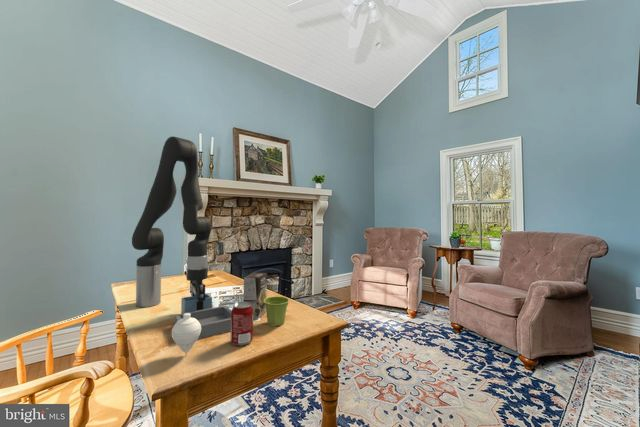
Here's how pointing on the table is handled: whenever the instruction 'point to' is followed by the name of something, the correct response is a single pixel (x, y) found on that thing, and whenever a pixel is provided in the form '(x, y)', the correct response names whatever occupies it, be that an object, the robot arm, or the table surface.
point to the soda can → (241, 323)
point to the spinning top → (186, 332)
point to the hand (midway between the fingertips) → (197, 307)
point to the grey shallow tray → (211, 320)
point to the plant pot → (276, 310)
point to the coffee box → (256, 292)
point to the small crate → (194, 303)
